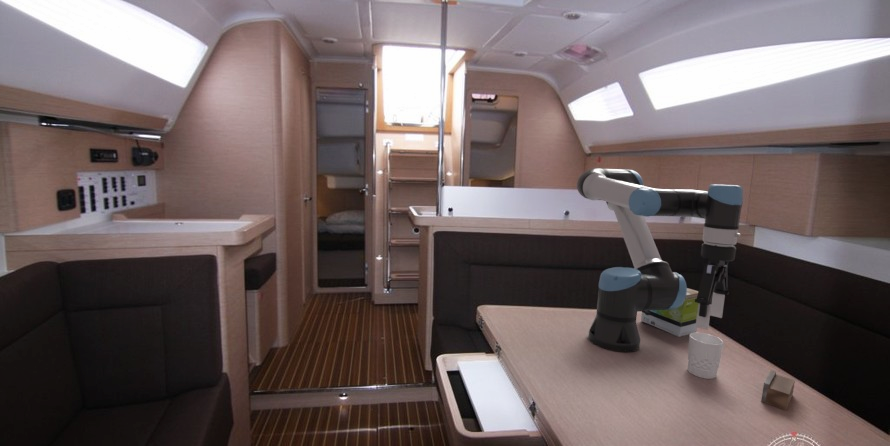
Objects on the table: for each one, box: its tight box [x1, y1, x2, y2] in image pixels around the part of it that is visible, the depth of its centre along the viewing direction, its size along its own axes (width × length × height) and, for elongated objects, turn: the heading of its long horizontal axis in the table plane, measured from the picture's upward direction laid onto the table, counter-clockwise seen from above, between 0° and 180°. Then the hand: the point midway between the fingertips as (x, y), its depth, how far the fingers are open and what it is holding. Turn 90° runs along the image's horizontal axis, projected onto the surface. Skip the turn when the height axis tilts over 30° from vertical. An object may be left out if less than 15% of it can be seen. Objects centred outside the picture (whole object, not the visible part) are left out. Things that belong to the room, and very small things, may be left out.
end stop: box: [760, 369, 796, 411], centre depth 103 cm, size 5×10×5 cm, turn 134°
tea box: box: [640, 287, 699, 338], centre depth 146 cm, size 15×10×15 cm, turn 28°
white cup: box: [687, 332, 725, 380], centre depth 114 cm, size 8×8×10 cm
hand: (709, 322), depth 112 cm, fingers open, 13 cm apart
